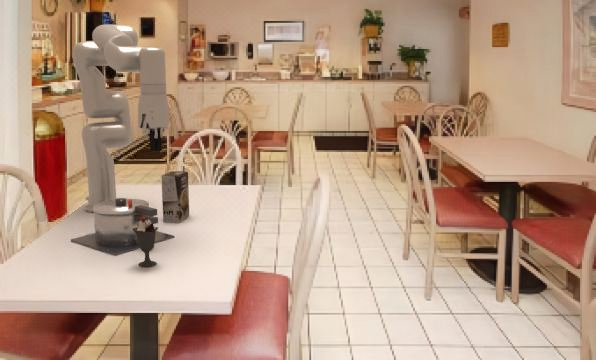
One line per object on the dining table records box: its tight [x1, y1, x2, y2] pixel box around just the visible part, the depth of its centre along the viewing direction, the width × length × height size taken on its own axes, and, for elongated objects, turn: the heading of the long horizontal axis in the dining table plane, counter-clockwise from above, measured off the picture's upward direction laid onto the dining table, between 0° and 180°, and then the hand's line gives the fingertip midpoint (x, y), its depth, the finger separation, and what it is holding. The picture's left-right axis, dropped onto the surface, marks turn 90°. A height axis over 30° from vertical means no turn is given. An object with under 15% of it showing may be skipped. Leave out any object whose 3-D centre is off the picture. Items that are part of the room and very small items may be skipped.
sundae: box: [133, 210, 159, 268], centre depth 167 cm, size 7×7×15 cm
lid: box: [92, 197, 158, 217], centre depth 186 cm, size 24×16×3 cm
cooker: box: [70, 212, 175, 256], centre depth 188 cm, size 26×22×10 cm
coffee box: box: [161, 170, 190, 224], centre depth 212 cm, size 9×6×16 cm
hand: (156, 150), depth 188 cm, fingers closed
